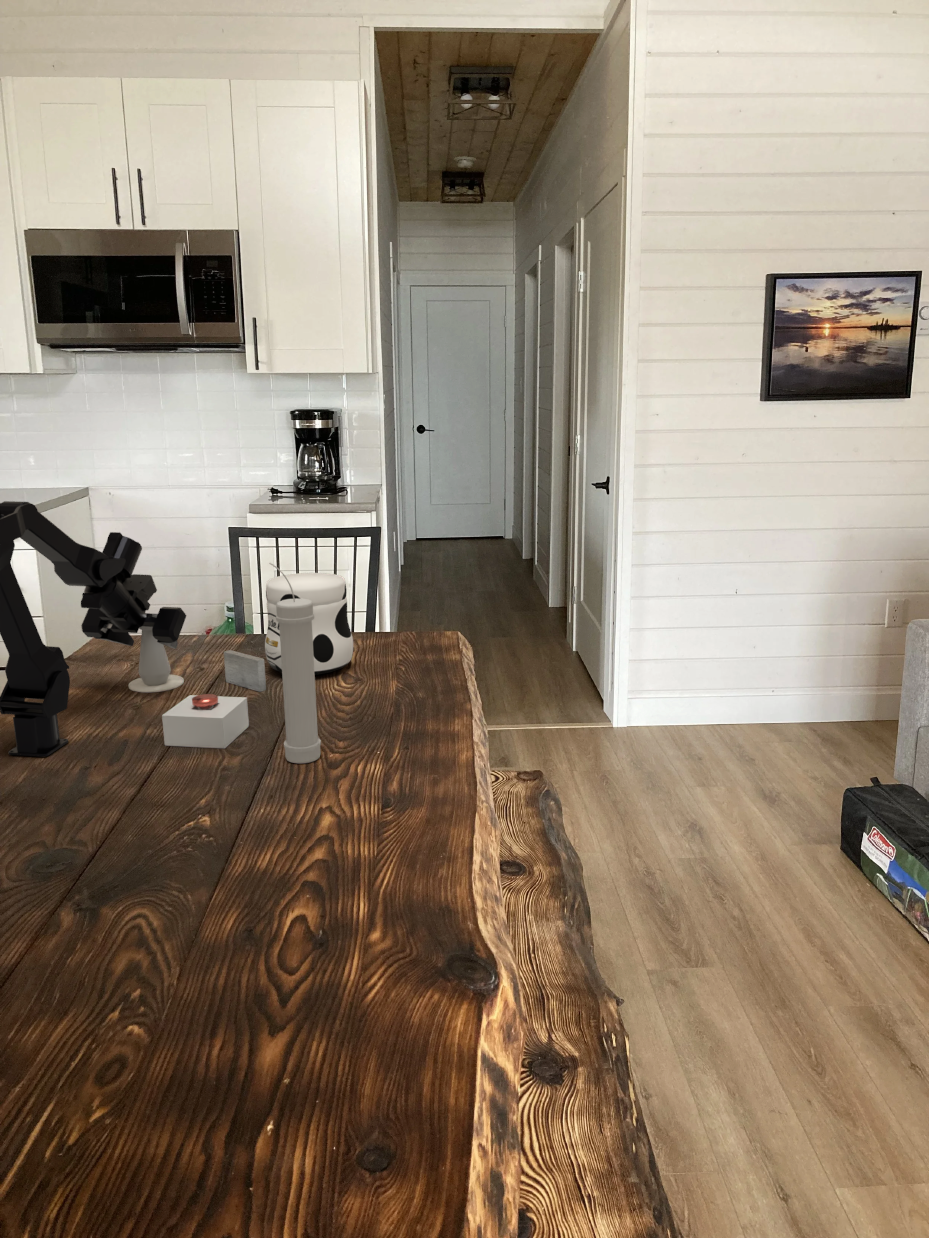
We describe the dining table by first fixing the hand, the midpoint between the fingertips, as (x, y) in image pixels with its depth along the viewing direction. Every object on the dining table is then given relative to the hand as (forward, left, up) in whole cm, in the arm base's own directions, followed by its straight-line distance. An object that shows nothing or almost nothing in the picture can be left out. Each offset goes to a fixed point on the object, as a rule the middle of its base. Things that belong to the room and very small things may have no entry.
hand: (154, 645), depth 178 cm
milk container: (+13, -26, -8) cm, 30 cm away
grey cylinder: (-32, -39, -8) cm, 51 cm away
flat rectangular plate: (+1, -17, -8) cm, 19 cm away
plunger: (-25, -21, -6) cm, 33 cm away
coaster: (-1, 0, -8) cm, 8 cm away
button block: (-25, -21, -8) cm, 33 cm away
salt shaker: (-1, 0, -7) cm, 7 cm away
